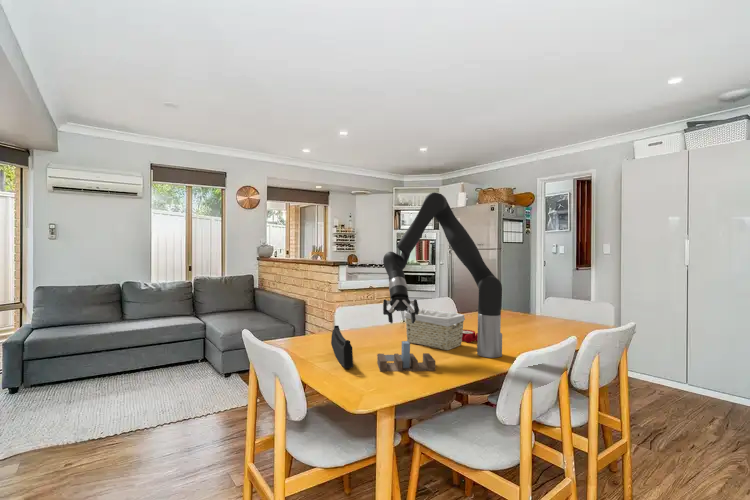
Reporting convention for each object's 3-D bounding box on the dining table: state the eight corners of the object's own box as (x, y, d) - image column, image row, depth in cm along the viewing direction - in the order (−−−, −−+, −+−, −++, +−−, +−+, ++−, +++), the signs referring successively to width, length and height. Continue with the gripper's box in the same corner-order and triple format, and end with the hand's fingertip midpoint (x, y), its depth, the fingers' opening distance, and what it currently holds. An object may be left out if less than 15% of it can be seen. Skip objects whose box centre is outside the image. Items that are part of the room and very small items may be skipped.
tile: (407, 365, 147) (408, 341, 147) (409, 368, 144) (410, 343, 144) (401, 365, 147) (401, 341, 147) (403, 368, 143) (403, 343, 143)
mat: (401, 355, 162) (401, 354, 162) (404, 361, 153) (404, 360, 153) (376, 355, 161) (376, 354, 161) (379, 361, 152) (379, 361, 152)
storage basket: (465, 345, 181) (466, 313, 181) (448, 352, 168) (449, 318, 168) (421, 337, 196) (422, 307, 196) (402, 343, 184) (403, 311, 184)
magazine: (354, 347, 138) (340, 310, 166) (345, 348, 137) (333, 310, 165) (351, 389, 143) (338, 345, 171) (342, 389, 142) (330, 346, 170)
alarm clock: (464, 328, 201) (485, 327, 188) (466, 341, 200) (487, 341, 187) (448, 330, 196) (469, 329, 183) (450, 343, 195) (471, 343, 182)
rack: (428, 363, 151) (429, 353, 151) (435, 371, 141) (435, 360, 141) (377, 363, 149) (377, 353, 149) (380, 372, 140) (380, 361, 140)
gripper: (382, 284, 162) (385, 316, 151) (416, 284, 163) (421, 316, 152) (380, 295, 167) (383, 327, 156) (413, 295, 169) (418, 327, 157)
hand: (402, 322), depth 154 cm, fingers open, 8 cm apart
